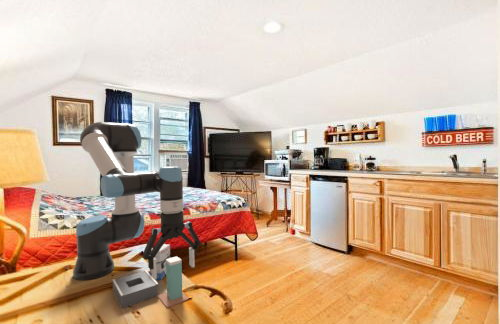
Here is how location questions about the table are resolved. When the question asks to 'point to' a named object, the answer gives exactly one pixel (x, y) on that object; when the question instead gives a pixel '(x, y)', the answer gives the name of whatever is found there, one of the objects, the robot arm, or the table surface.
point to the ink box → (161, 261)
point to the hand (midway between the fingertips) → (174, 271)
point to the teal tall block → (174, 277)
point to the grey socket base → (135, 288)
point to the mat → (169, 303)
